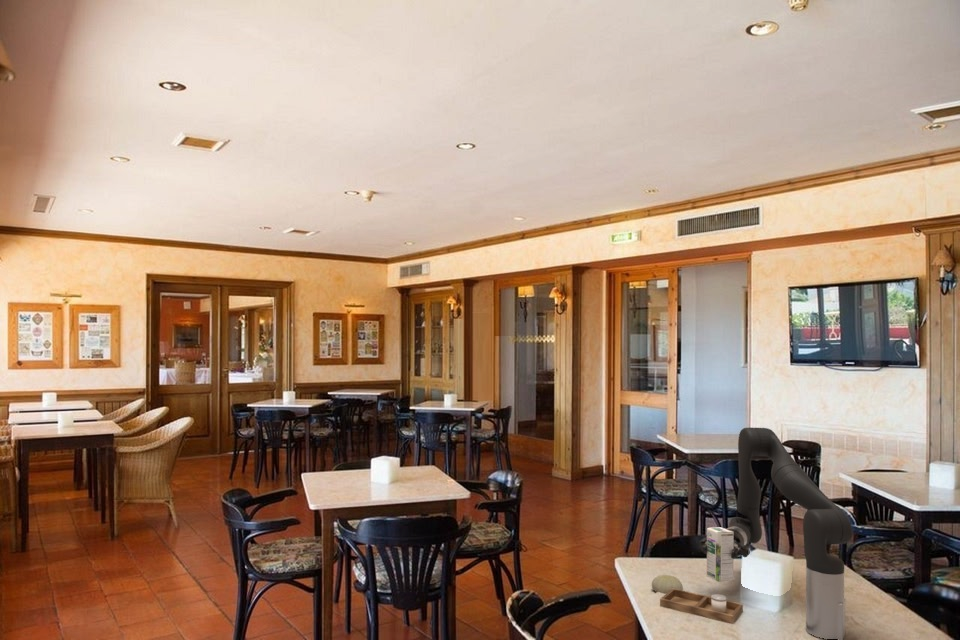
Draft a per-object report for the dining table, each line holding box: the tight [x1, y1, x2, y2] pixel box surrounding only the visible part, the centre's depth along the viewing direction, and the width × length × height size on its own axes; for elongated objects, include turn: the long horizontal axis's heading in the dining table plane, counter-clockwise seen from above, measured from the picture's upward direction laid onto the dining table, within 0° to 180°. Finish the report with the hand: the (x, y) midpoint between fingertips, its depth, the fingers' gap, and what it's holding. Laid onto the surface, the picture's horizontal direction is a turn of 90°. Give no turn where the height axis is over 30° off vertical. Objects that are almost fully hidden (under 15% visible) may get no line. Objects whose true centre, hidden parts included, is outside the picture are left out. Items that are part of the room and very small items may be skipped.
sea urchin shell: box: [651, 574, 684, 594], centre depth 211 cm, size 9×8×8 cm
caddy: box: [659, 588, 744, 625], centre depth 195 cm, size 21×11×3 cm, turn 55°
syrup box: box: [706, 526, 734, 583], centre depth 202 cm, size 6×6×14 cm
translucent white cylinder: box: [710, 593, 728, 614], centre depth 192 cm, size 4×4×4 cm
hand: (718, 552), depth 201 cm, fingers closed on syrup box, 7 cm apart
